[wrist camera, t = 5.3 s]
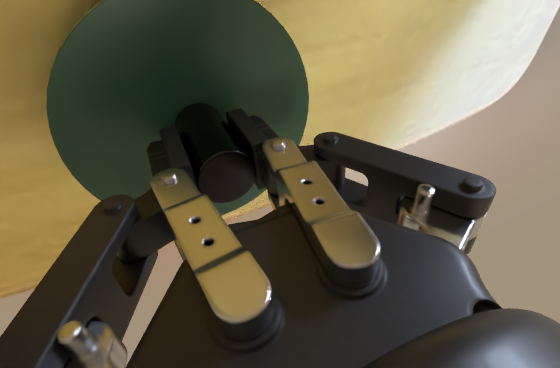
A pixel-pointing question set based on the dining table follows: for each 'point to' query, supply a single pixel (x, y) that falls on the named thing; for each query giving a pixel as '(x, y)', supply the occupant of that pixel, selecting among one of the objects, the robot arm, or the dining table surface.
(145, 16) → the lid
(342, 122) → the dining table surface
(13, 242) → the dining table surface
